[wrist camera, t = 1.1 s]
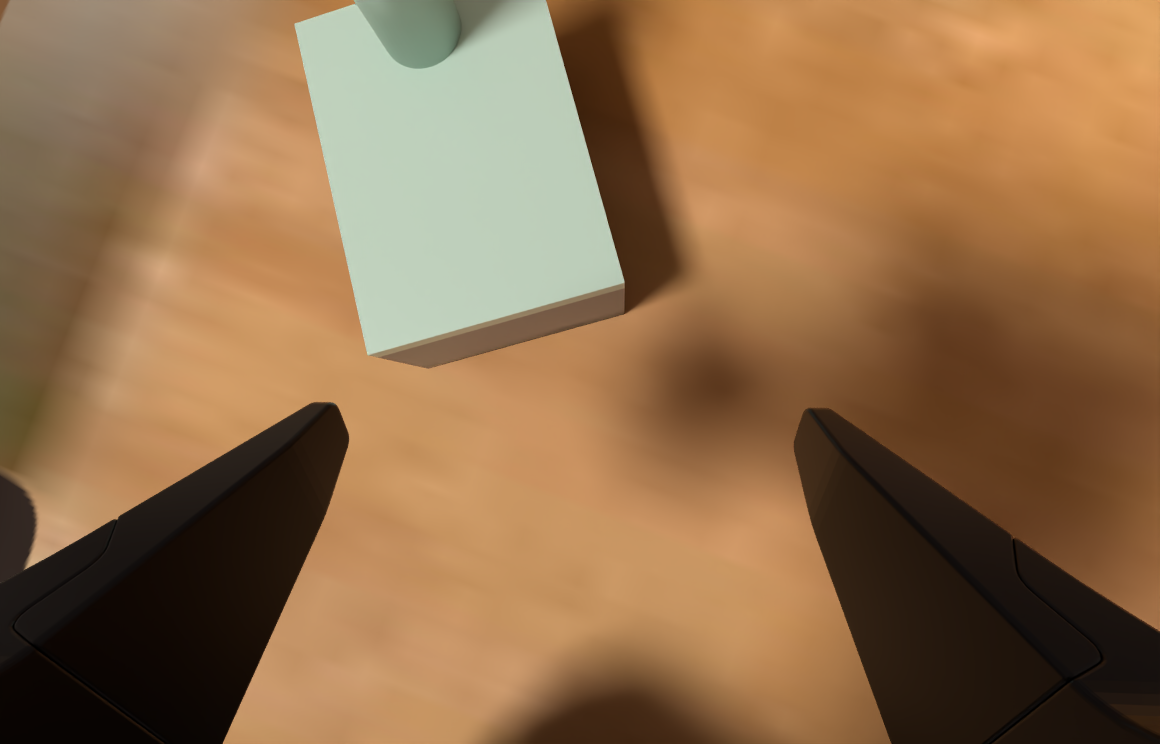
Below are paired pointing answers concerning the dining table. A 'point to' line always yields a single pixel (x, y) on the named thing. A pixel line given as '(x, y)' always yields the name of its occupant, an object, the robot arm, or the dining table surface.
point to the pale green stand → (454, 166)
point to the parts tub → (513, 331)
